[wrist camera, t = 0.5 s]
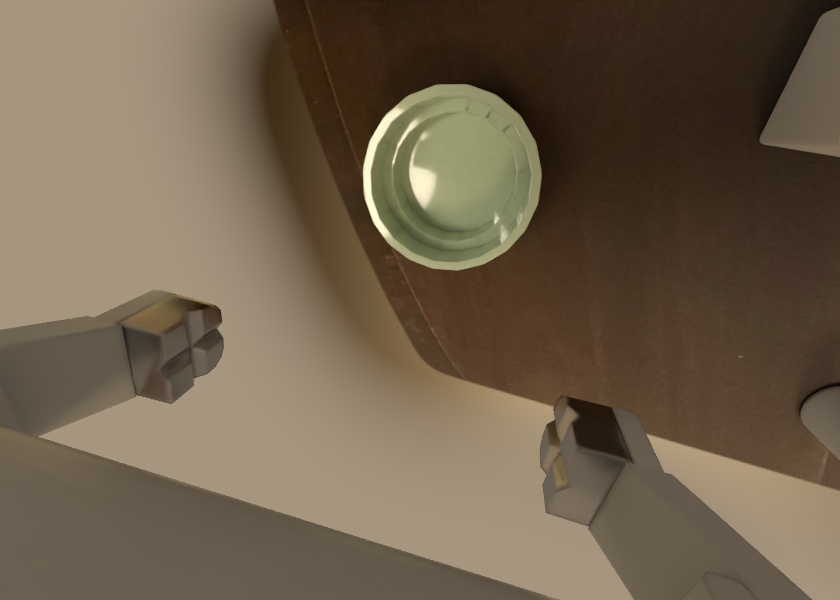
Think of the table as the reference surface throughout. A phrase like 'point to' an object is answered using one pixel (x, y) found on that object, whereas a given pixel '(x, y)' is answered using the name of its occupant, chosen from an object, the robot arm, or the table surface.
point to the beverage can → (824, 417)
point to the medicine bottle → (811, 96)
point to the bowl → (452, 176)
